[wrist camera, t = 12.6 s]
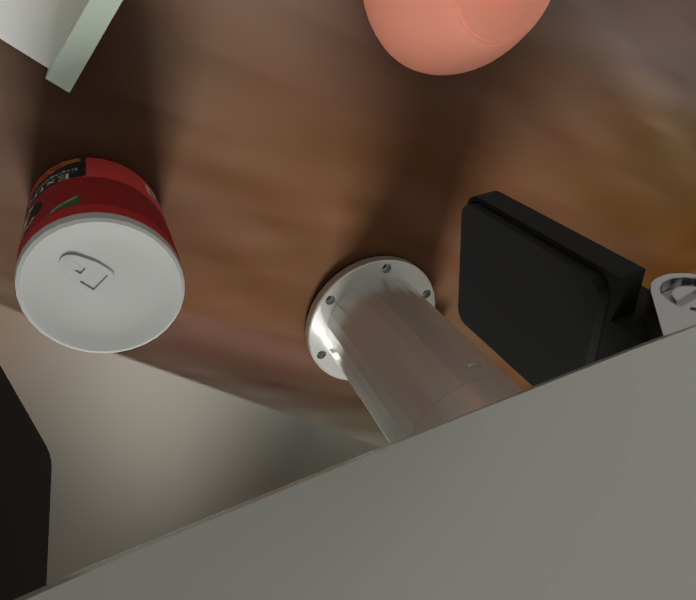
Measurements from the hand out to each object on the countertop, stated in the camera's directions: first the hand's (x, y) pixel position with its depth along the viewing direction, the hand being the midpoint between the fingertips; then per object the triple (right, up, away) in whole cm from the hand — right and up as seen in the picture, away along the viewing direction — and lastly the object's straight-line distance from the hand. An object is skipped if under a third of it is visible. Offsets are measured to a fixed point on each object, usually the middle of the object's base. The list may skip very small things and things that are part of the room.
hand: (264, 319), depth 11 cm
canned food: (-15, +6, +25) cm, 30 cm away
